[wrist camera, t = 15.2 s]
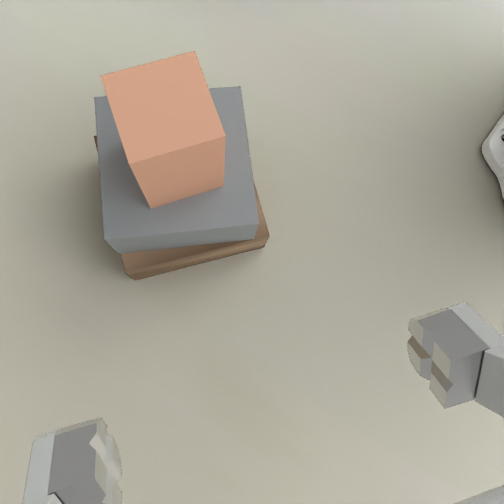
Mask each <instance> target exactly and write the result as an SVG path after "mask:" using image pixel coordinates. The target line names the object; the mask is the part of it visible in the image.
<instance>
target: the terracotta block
mask: <svg viewBox="0 0 504 504" xmlns="http://www.w3.org/2000/svg"><path fill="white" fill-rule="evenodd" d="M101 79H102V82H103V85H104V89H105V92H106V95H107V98H108V101H109V104H110V107H111V110H112V113H113V116H114V119H115V123H116V126H117V129H118V132H119V135H120V138H121V141H122V144H123V147H124V150H125V153H126V157H127V160H128V163H129V165H130V167H131V169H132V171H133V174H134V176H135V178H136V180H137V182H138V184H139V186H140V188H141V190H142V192H143V194H144V196H145V198H146V200H147V202H148V204H149V206H150V208H151V209H152V208H155V207H158V206H162V205H165V204H168V203H171V202H174V201H178V200H181V199H184V198H187V197H191V196H194V195H197V194H200V193H203V192H207V191H210V190H213V189H216V188H220V187H223V186H224V164H225V142H226V135H225V132H224V130H223V127H222V124H221V121H220V119H219V116H218V113H217V110H216V108H215V105H214V102H213V100H212V97H211V94H210V91H209V89H208V86H207V83H206V80H205V78H204V75H203V72H202V69H201V67H200V64H199V61H198V59H197V56H196V53H195V51H192V52H189V53H185V54H181V55H177V56H173V57H170V58H166V59H162V60H158V61H155V62H151V63H147V64H143V65H139V66H136V67H132V68H128V69H124V70H121V71H117V72H113V73H109V74H105V75H102V76H101Z"/></svg>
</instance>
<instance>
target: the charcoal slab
mask: <svg viewBox="0 0 504 504" xmlns="http://www.w3.org/2000/svg"><path fill="white" fill-rule="evenodd" d="M209 91H210V94H211V97H212V100H213V102H214V105H215V108H216V110H217V113H218V116H219V119H220V121H221V124H222V127H223V130H224V132H225V135H226V142H225V164H224V186H223V187H220V188H216V189H213V190H210V191H207V192H203V193H200V194H197V195H194V196H191V197H187V198H184V199H181V200H178V201H174V202H171V203H168V204H165V205H162V206H158V207H155V208H152V209H151V208H150V206H149V204H148V202H147V200H146V198H145V196H144V194H143V192H142V190H141V188H140V186H139V184H138V182H137V180H136V178H135V176H134V174H133V171H132V169H131V167H130V165H129V163H128V160H127V157H126V153H125V150H124V147H123V144H122V141H121V138H120V135H119V132H118V129H117V126H116V123H115V119H114V116H113V113H112V110H111V107H110V104H109V101H108V98H107V96H104V97H94V100H95V115H96V129H97V144H98V158H99V173H100V187H101V202H102V216H103V231H104V240H105V241H106V242H107V243H108V244H109V245H110V246H111V247H112V248H113V249H114V250H115V251H116V252H118V253H119V254H122V253H131V252H140V251H149V250H158V249H168V248H177V247H186V246H195V245H204V244H213V243H223V242H232V241H241V240H250V239H254V237H255V234H256V231H257V228H258V225H259V219H258V212H257V204H256V197H255V190H254V182H253V175H252V167H251V160H250V153H249V145H248V138H247V131H246V123H245V116H244V109H243V101H242V94H241V87H240V86H238V87H225V88H211V89H209Z"/></svg>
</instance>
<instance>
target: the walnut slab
mask: <svg viewBox="0 0 504 504" xmlns="http://www.w3.org/2000/svg"><path fill="white" fill-rule="evenodd" d="M94 138H95V143H96V147H97V151H98V144H97V136H94ZM253 182H254V181H253ZM254 190H255V197H256V204H257V212H258V219H259V225H258V228H257V231H256V234H255V237H254V239H250V240H241V241H232V242H223V243H213V244H204V245H195V246H186V247H177V248H168V249H158V250H149V251H140V252H131V253H122V254H121V256H122V261H123V265H124V269H125V273H127V274H128V275H129V276H130V277H132V278H133V279H134V280H139V279H142V278H146V277H150V276H154V275H158V274H162V273H166V272H169V271H173V270H177V269H181V268H185V267H189V266H193V265H197V264H200V263H204V262H208V261H212V260H216V259H220V258H224V257H228V256H231V255H235V254H239V253H243V252H247V251H251V250H255V249H259V248H262V247H264V246H265V244H266V242H267V240H268V238H269V232H268V229H267V225H266V222H265V219H264V215H263V212H262V208H261V205H260V201H259V198H258V194H257V191H256V188H255V184H254Z"/></svg>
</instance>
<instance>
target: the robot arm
mask: <svg viewBox="0 0 504 504" xmlns="http://www.w3.org/2000/svg"><path fill="white" fill-rule="evenodd" d="M501 137H502V138H504V114H503V115H502V117H501V118H500V120H499V121H498V123H497V124H496V125H495V127H494V128H493V130H492V131H491V133H490V134H489V135H488V137H487V138H486V140H485V141H484V143H483V145H482V154H483V156H484V158H485V160H486V162H487V163H488V165H489V166H490V168H491V169H492V171H493V172H494V173H495V175H496V176H497V178H498V181H499V184H500V187H501V191H502V195H503V199H504V142H503V141H502V139H501ZM408 330H409V331H410V333H411V334H412V337H411V338H410V339H409V341H408V354H409V358H410V361H411V363H412V365H413V367H414V368H415V370H416V371H417V373H418V374H419V375H420V376H422V377H424V378H426V379H428V380H430V387H429V389H430V390H431V391H432V393H433V394H434V395H435V397H436V398H437V399H438V401H439V402H440V403H441V405H442V406H443V407H444V409H446V408H449V407H452V406H455V405H458V404H462V403H465V402H468V401H471V400H474V399H475V401H476V402H478V403H479V404H481V405H483V406H485V407H486V408H488V409H490V410H492V411H493V412H495V413H497V414H499V415H500V416H502V417H504V338H503V337H502V336H501V335H500V334H499V333H498V332H497V331H496V330H495V329H494V328H493V327H492V326H491V325H490V324H489V323H487V322H486V321H485V320H484V319H483V318H482V317H481V316H480V315H479V314H478V313H477V312H476V311H475V310H474V309H473V308H472V307H471V306H469V305H468V304H466V303H464V302H463V303H460V304H457V305H453V306H450V307H447V308H445V309H444V308H443V309H440V310H437V311H434V312H431V313H428V314H425V315H422V316H419V317H416V318H413V319H411V320H410V322H409V327H408ZM121 475H122V470H121V459H120V453H119V449H118V446H117V443H116V441H115V439H114V437H113V436H110V435H108V434H107V425H106V424H105V422H104V420H103V419H102V418H96V419H93V420H89V421H86V422H82V423H79V424H76V425H72V426H69V427H65V428H62V429H58V430H55V431H52V432H49V433H45V434H42V435H39V436H36V438H35V440H34V442H33V444H32V450H31V455H30V461H29V467H28V473H27V479H26V485H25V491H24V496H23V502H22V504H122V491H121V490H120V488H119V486H118V485H117V482H118V480H119V478H120V476H121ZM454 504H504V485H502V486H500V487H497V488H494V489H492V490H489V491H486V492H484V493H481V494H478V495H475V496H473V497H470V498H467V499H465V500H462V501H459V502H457V503H454Z"/></svg>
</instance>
